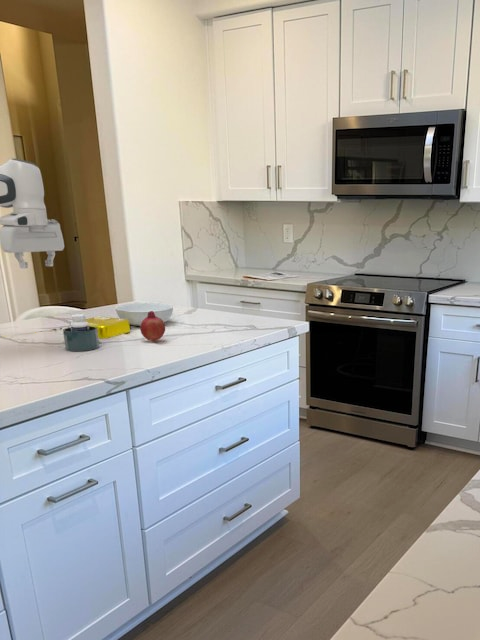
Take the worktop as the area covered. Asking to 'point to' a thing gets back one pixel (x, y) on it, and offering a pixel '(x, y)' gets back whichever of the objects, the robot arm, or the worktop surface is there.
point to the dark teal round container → (81, 339)
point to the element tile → (109, 326)
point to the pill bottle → (79, 323)
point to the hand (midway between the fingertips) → (37, 267)
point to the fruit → (152, 327)
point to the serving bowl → (143, 311)
